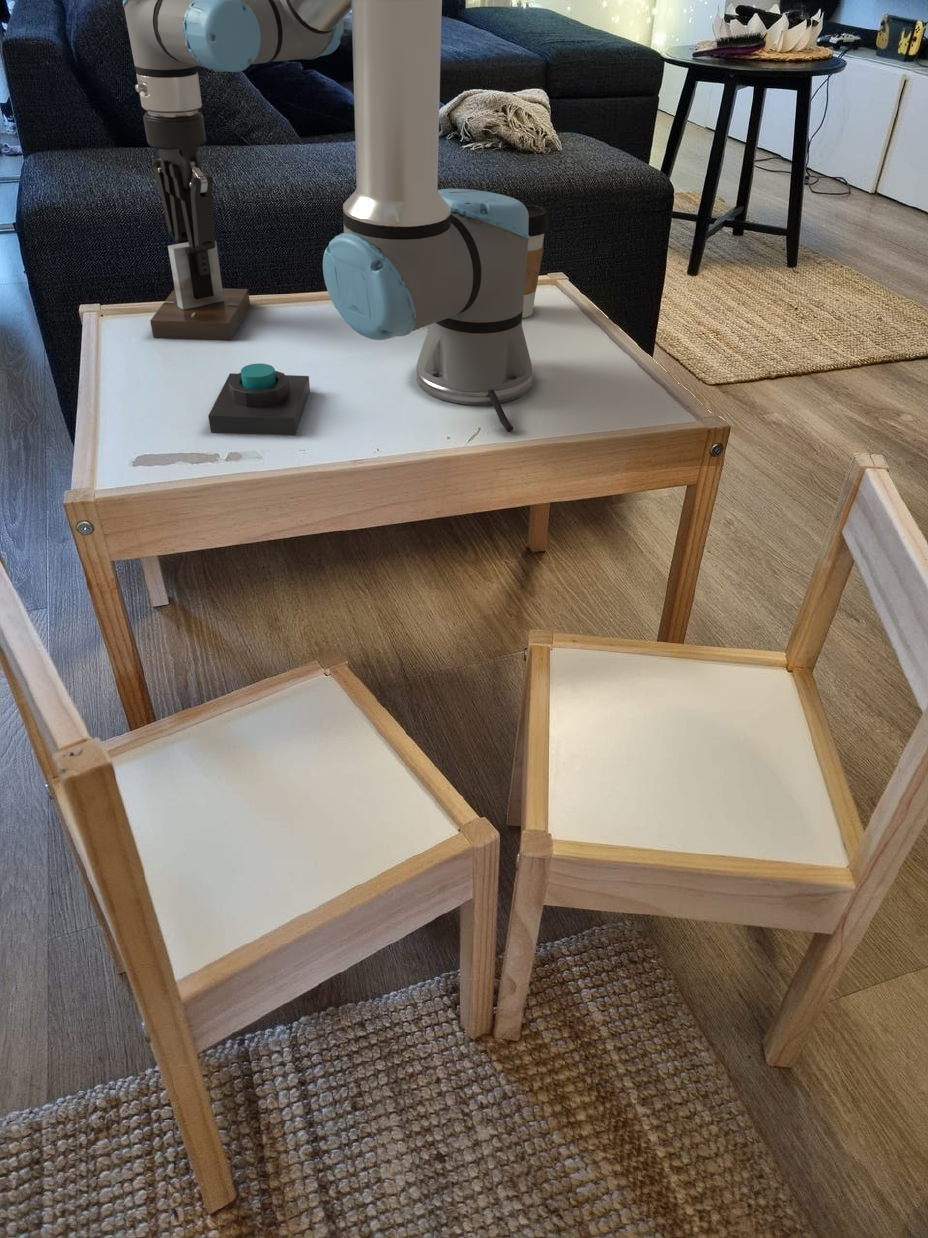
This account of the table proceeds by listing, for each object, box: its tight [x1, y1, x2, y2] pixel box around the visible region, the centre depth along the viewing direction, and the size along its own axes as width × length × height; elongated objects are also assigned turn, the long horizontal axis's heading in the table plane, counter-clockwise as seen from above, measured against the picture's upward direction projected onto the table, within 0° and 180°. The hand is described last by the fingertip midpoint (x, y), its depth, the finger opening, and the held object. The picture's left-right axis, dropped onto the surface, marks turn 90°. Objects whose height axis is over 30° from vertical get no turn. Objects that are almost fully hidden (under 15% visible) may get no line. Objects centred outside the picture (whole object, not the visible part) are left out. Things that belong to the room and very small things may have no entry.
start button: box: [240, 362, 276, 389], centre depth 110 cm, size 4×4×2 cm
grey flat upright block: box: [167, 240, 224, 310], centre depth 131 cm, size 6×2×9 cm, turn 129°
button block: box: [208, 370, 311, 436], centre depth 112 cm, size 12×10×4 cm
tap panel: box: [149, 287, 251, 341], centre depth 135 cm, size 14×11×3 cm
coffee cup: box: [522, 204, 549, 319], centre depth 138 cm, size 8×8×15 cm
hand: (199, 293), depth 133 cm, fingers closed on grey flat upright block, 2 cm apart
